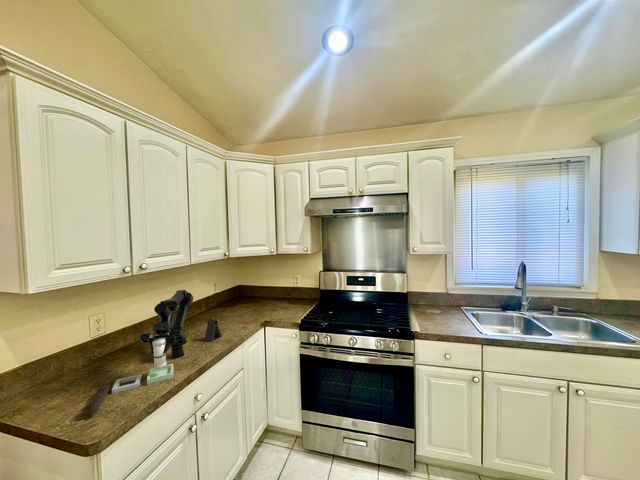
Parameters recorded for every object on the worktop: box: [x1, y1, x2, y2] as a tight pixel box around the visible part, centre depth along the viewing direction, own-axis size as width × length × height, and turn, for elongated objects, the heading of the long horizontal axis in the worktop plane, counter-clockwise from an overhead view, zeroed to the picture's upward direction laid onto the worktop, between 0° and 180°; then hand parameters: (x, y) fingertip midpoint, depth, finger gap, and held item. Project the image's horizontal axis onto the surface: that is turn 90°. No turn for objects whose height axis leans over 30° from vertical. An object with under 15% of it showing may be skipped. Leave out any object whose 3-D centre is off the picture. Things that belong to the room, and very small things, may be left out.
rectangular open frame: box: [111, 373, 143, 394], centre depth 123 cm, size 10×10×2 cm
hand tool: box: [88, 383, 112, 418], centre depth 109 cm, size 19×4×5 cm, turn 22°
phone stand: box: [204, 318, 223, 342], centre depth 173 cm, size 9×6×12 cm, turn 153°
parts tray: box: [146, 363, 174, 386], centre depth 129 cm, size 11×10×2 cm
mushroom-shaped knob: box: [152, 338, 168, 369], centre depth 129 cm, size 5×5×12 cm
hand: (158, 354), depth 127 cm, fingers closed on mushroom-shaped knob, 5 cm apart
